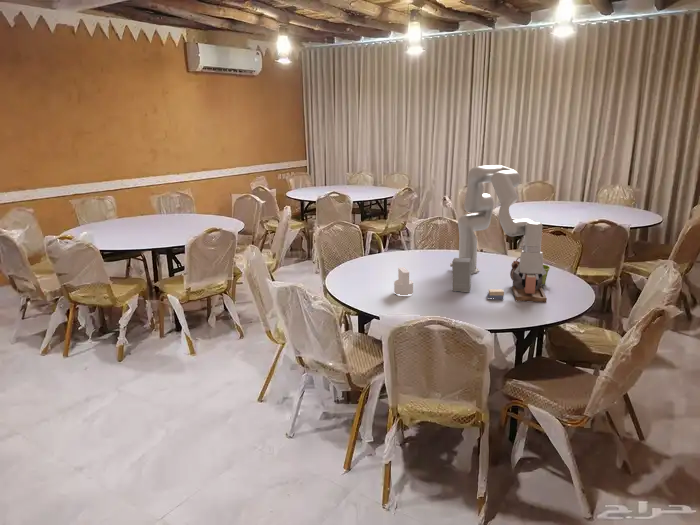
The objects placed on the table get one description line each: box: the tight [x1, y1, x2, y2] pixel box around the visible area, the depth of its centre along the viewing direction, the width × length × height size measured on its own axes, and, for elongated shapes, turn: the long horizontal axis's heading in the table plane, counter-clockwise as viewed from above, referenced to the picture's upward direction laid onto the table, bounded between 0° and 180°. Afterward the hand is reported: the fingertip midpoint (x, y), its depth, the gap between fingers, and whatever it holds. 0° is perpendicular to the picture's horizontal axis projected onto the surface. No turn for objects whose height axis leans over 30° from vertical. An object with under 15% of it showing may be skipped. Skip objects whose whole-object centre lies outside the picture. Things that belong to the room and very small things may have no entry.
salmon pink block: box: [524, 274, 536, 294], centre depth 235 cm, size 4×9×8 cm, turn 168°
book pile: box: [486, 288, 505, 300], centre depth 234 cm, size 7×4×4 cm, turn 78°
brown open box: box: [511, 271, 548, 303], centre depth 235 cm, size 13×17×9 cm
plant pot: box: [542, 264, 551, 285], centre depth 253 cm, size 9×9×9 cm
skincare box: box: [451, 257, 472, 293], centre depth 244 cm, size 8×7×16 cm
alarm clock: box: [509, 256, 520, 281], centre depth 249 cm, size 11×5×15 cm, turn 100°
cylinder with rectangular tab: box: [393, 266, 414, 295], centre depth 242 cm, size 9×9×12 cm
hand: (529, 286), depth 235 cm, fingers closed on salmon pink block, 4 cm apart
